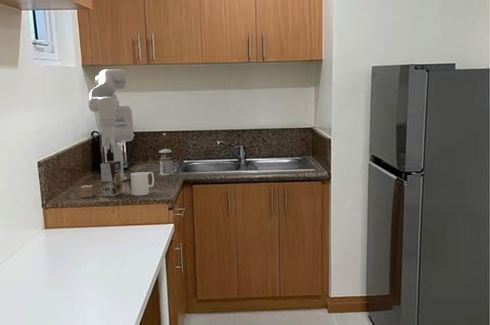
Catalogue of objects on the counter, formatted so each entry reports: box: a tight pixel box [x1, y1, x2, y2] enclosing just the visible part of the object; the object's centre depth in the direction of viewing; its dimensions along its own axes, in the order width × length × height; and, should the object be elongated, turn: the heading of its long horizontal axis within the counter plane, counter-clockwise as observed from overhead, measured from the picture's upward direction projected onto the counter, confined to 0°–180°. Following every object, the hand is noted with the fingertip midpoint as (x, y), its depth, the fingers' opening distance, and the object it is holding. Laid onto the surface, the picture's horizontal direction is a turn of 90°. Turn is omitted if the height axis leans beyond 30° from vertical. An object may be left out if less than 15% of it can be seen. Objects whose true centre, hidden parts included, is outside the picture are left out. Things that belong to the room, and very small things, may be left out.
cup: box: [130, 171, 155, 196], centre depth 231 cm, size 8×12×10 cm
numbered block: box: [80, 184, 95, 199], centre depth 228 cm, size 5×5×5 cm
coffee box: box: [100, 161, 123, 197], centre depth 229 cm, size 9×6×16 cm
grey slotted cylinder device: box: [158, 132, 176, 176], centre depth 286 cm, size 10×12×25 cm
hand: (110, 160), depth 228 cm, fingers closed
